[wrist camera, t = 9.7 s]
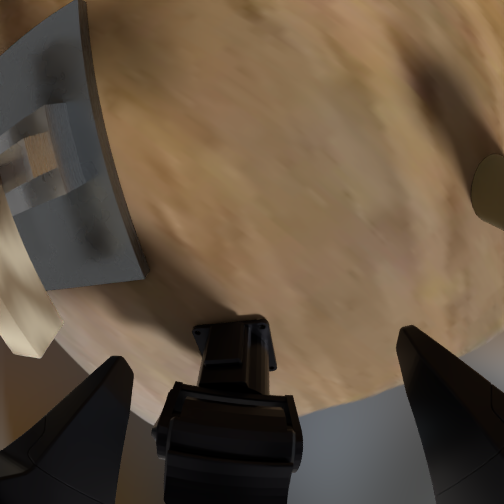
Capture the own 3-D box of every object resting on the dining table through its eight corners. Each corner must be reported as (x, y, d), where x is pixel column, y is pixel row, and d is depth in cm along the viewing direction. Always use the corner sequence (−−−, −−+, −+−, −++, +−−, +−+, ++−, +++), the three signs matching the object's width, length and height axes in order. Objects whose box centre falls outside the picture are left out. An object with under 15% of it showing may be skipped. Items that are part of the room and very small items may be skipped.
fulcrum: (150, 270, 21) (120, 321, 16) (38, 285, 23) (6, 322, 17) (86, 1, 11) (36, -17, 6) (-20, 84, 12) (-65, 93, 7)
